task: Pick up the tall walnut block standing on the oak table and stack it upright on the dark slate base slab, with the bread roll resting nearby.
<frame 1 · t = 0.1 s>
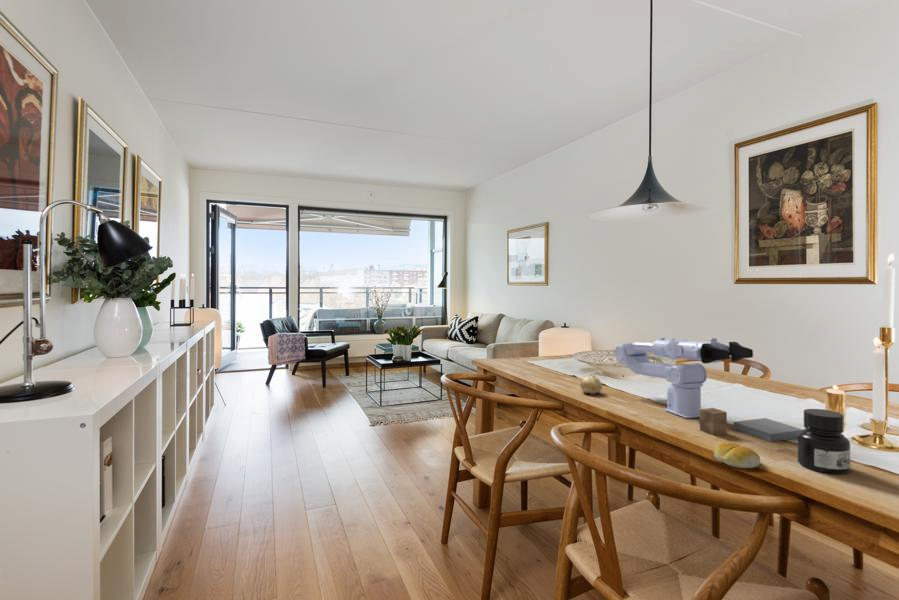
hand: (740, 354, 121), 22 cm above the table, tool horizontal, fingers open, 7 cm apart
ink bottle: (823, 467, 99), on the table
onion: (591, 393, 171), on the table
slate base: (767, 432, 122), on the table
bread roll: (736, 462, 104), on the table
walnut block: (713, 432, 124), on the table
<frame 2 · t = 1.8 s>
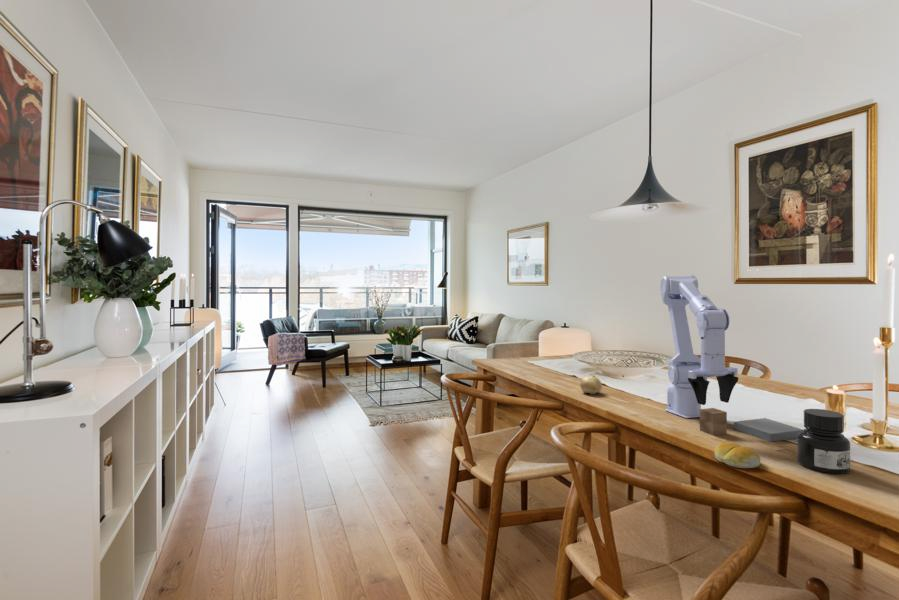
hand: (713, 402, 123), 8 cm above the table, tool pointing down, fingers open, 7 cm apart
nothing on the table moved.
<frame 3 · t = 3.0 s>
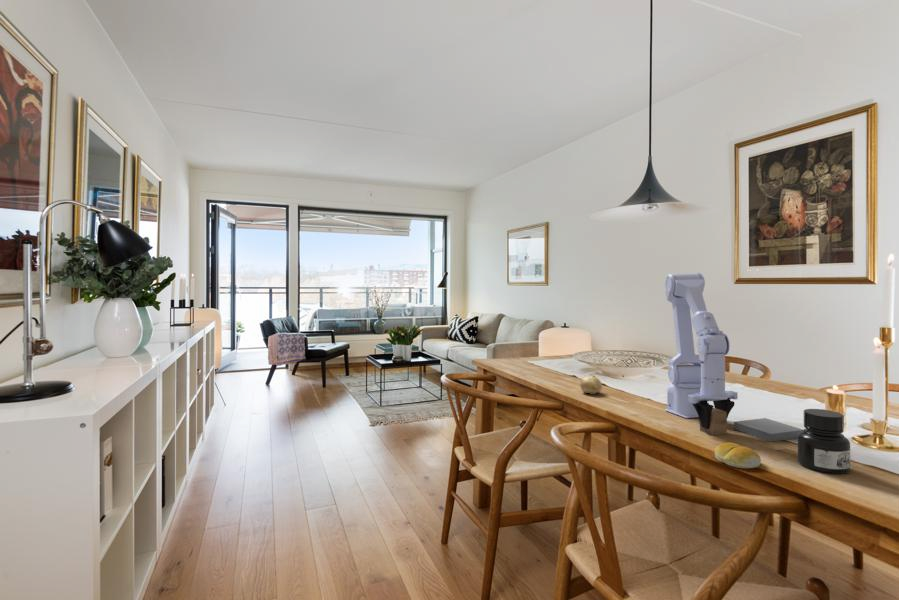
hand: (713, 426, 124), 1 cm above the table, tool pointing down, fingers closed on walnut block, 4 cm apart
walnut block: (713, 432, 124), on the table, touching gripper
everything else where it was.
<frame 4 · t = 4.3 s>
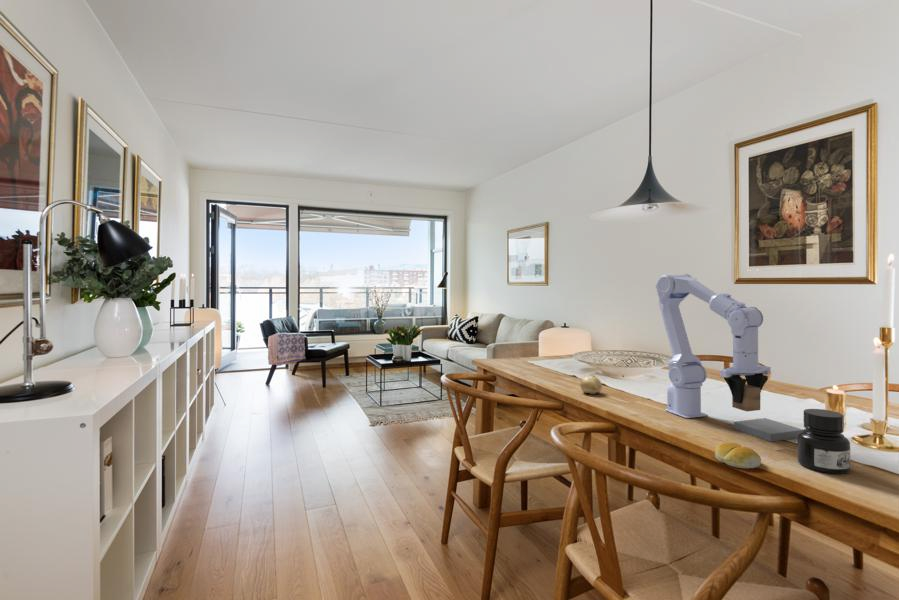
hand: (745, 401, 122), 8 cm above the table, tool pointing down, fingers closed on walnut block, 4 cm apart
walnut block: (746, 408, 122), point 7 cm above the table, touching gripper
everything else where it was.
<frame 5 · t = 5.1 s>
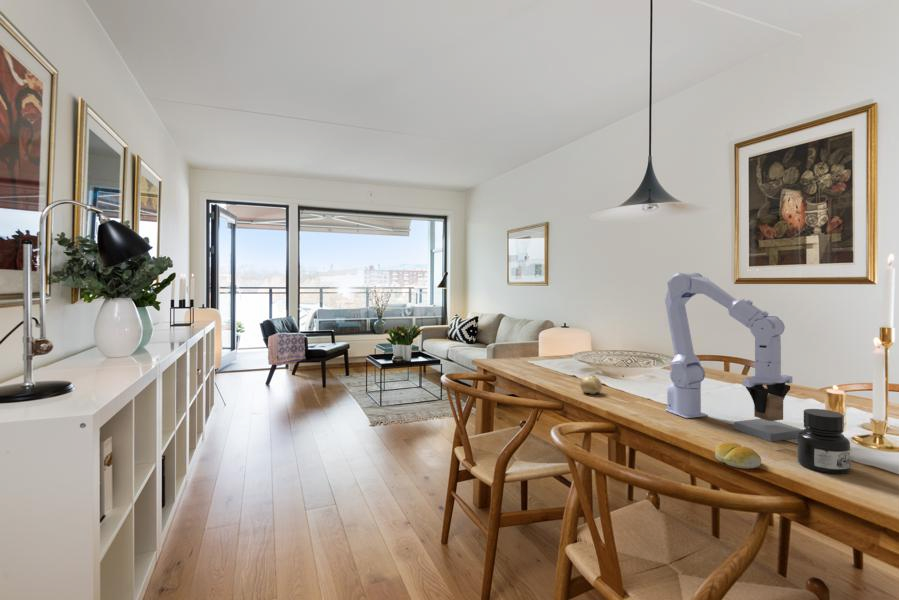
hand: (767, 411, 122), 6 cm above the table, tool pointing down, fingers closed on walnut block, 4 cm apart
walnut block: (768, 418, 122), point 4 cm above the table, touching gripper
everything else where it was.
when the fingers open (4 cm above the table, at t = 5.8 s): walnut block stays where it is, resting on slate base.
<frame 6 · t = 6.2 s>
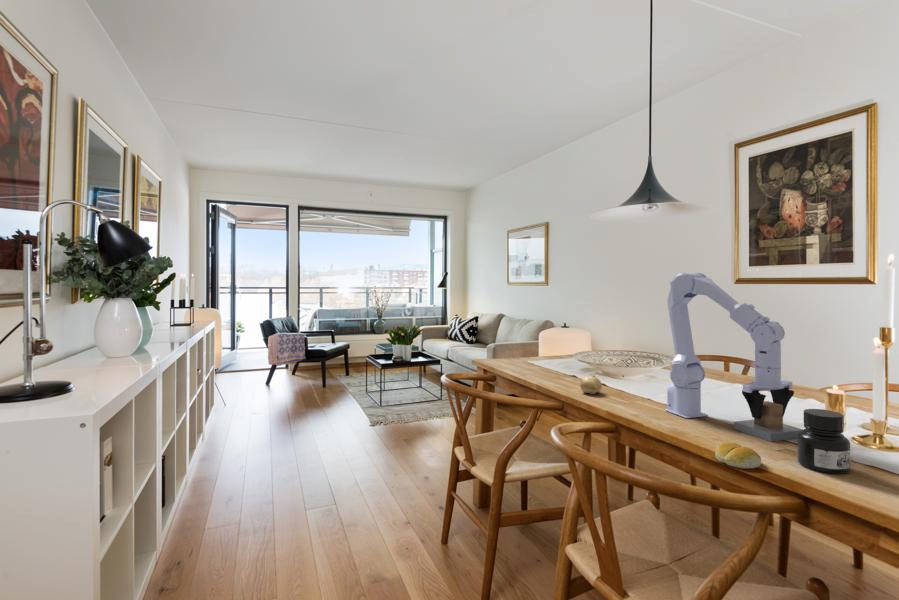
hand: (767, 416, 122), 4 cm above the table, tool pointing down, fingers open, 7 cm apart
walnut block: (768, 425, 122), point 2 cm above the table, touching slate base
everything else where it was.
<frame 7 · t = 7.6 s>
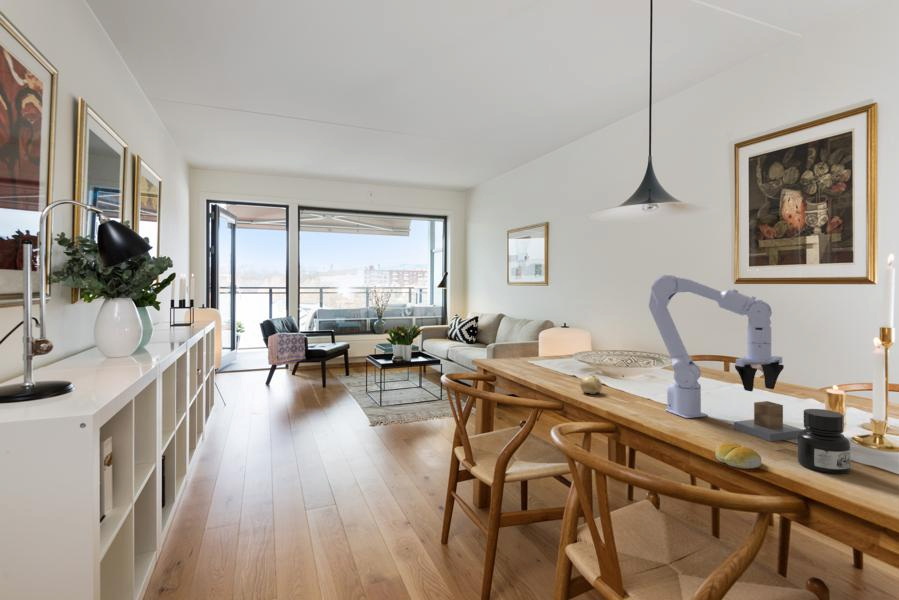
hand: (759, 389, 130), 10 cm above the table, tool pointing down, fingers open, 7 cm apart
nothing on the table moved.
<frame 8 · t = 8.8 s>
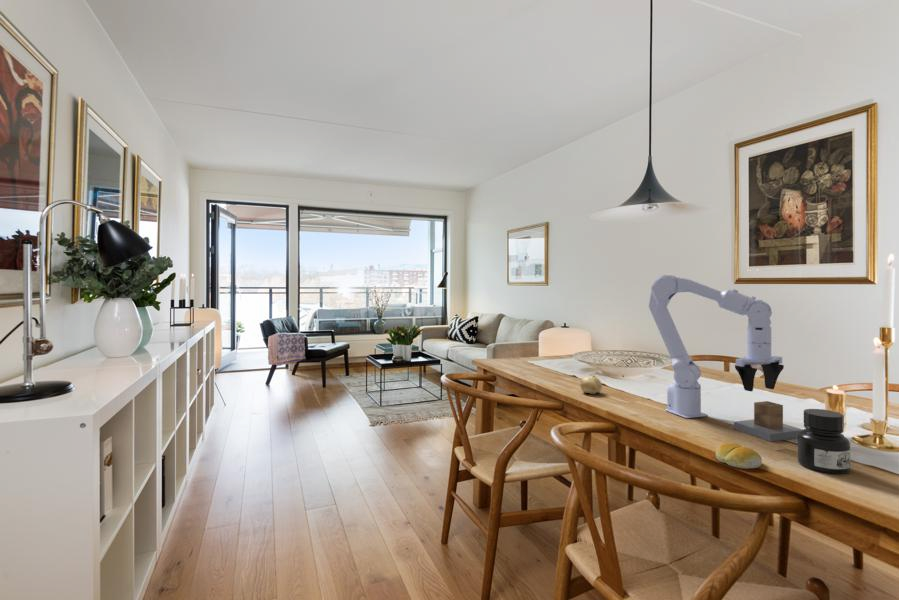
hand: (759, 389, 130), 10 cm above the table, tool pointing down, fingers open, 7 cm apart
nothing on the table moved.
at the end: walnut block inside the target area on the slate base (0.2 cm from its centre), point 2.0 cm above the slate base's base; walnut block tilted 0°; the gripper is holding nothing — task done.
